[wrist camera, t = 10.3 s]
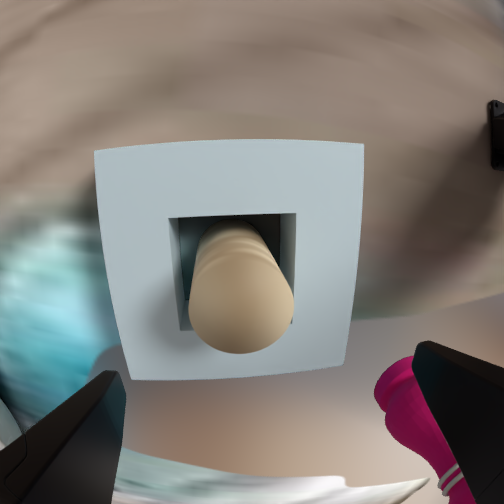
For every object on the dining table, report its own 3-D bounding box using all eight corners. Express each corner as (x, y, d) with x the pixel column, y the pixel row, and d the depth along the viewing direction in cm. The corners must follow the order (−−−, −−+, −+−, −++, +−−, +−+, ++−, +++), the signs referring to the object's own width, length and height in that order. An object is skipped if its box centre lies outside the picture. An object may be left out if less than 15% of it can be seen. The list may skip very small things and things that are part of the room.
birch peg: (264, 217, 20) (296, 258, 12) (264, 281, 21) (291, 349, 14) (195, 220, 19) (183, 263, 12) (199, 285, 21) (193, 356, 13)
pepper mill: (412, 402, 28) (501, 533, 9) (358, 409, 27) (443, 573, 8) (440, 349, 26) (560, 480, 7) (385, 351, 25) (514, 526, 6)
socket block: (336, 145, 19) (363, 144, 15) (325, 334, 23) (343, 365, 19) (117, 151, 17) (94, 150, 14) (141, 346, 22) (131, 379, 18)
